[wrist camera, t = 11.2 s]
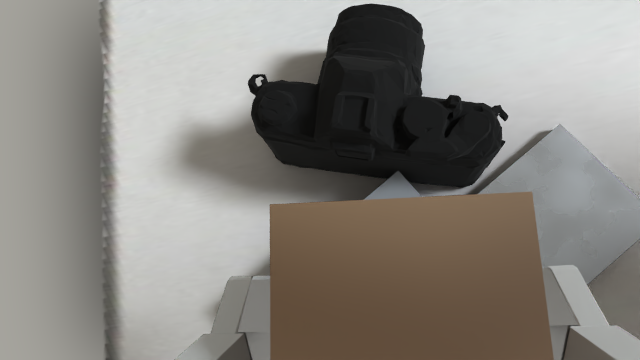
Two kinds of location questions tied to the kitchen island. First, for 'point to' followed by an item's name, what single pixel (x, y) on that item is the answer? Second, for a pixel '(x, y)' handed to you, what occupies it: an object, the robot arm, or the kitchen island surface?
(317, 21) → the kitchen island surface
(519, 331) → the walnut peg
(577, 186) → the pad
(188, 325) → the kitchen island surface
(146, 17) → the kitchen island surface
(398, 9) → the film camera
